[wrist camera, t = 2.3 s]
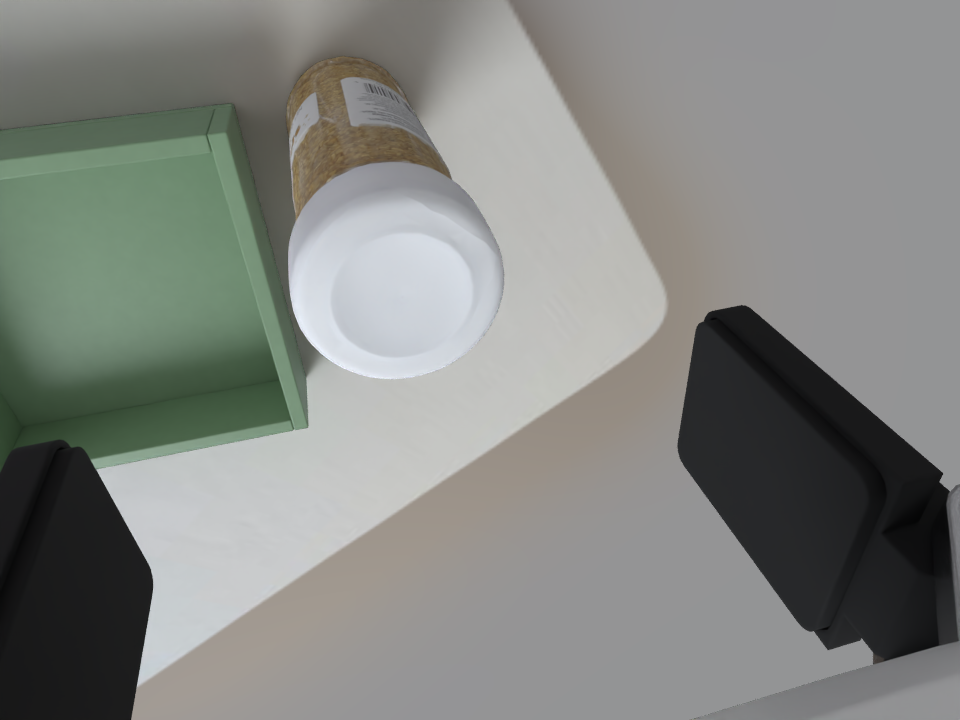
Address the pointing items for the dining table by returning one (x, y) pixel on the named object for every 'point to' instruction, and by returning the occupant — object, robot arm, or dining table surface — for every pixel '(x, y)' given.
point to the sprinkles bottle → (381, 230)
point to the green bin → (140, 290)
